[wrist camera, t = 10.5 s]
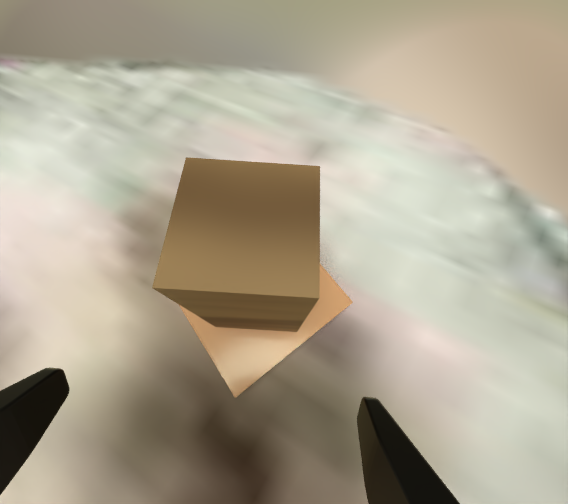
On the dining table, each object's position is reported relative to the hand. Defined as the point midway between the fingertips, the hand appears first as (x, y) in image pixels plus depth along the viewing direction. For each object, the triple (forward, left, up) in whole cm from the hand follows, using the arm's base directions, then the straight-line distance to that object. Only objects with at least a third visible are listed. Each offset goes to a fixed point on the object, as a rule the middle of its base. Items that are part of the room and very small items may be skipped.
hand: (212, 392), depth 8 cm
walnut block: (+4, +4, -8) cm, 9 cm away
